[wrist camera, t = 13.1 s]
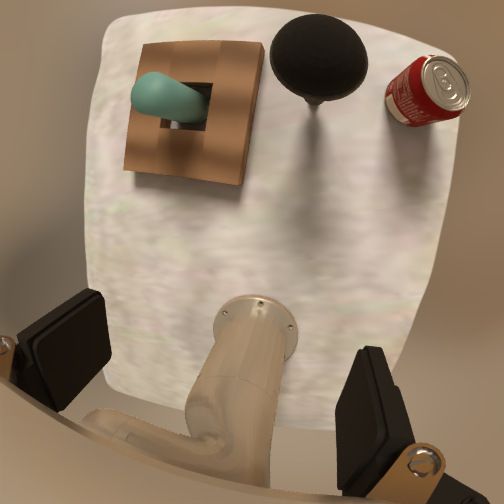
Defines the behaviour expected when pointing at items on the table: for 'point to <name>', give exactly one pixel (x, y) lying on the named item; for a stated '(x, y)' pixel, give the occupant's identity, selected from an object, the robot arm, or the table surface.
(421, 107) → the soda can
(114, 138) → the table surface
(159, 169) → the socket board
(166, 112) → the peg
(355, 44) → the microphone
